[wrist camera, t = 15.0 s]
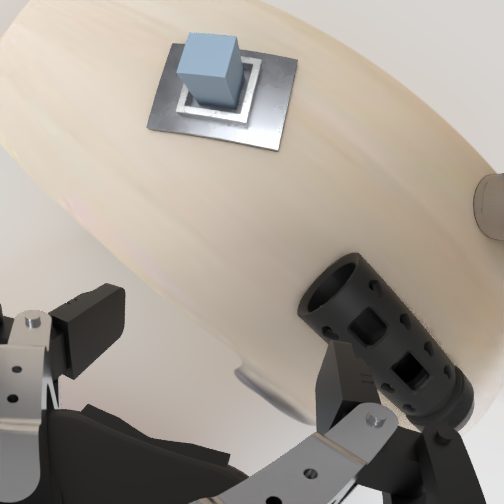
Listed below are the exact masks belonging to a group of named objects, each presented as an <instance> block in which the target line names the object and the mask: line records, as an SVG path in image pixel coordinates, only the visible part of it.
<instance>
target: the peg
mask: <svg viewBox="0 0 504 504" xmlns="http://www.w3.org/2000/svg"><path fill="white" fill-rule="evenodd" d="M176 73H177V74H178V76H179V77H180V79H181V80H182V81H183V83H184V84H185V86H186V87H187V88H188V90H189V91H190V93H191V94H192V95H193V97H194V98H195V100H196V101H197V103H198V104H199V105H204V106H211V107H218V108H225V109H232V110H237V106H238V101H239V97H240V93H241V89H242V85H243V81H244V77H245V76H244V71H243V66H242V61H241V56H240V51H239V46H238V41H237V37H236V36H227V35H217V34H204V33H189V35H188V38H187V41H186V44H185V47H184V50H183V53H182V56H181V59H180V62H179V66H178V69H177V72H176Z"/></svg>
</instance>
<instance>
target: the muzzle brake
mask: <svg viewBox="0 0 504 504" xmlns="http://www.w3.org/2000/svg"><path fill="white" fill-rule="evenodd" d="M320 306H321V307H320ZM298 316H299V317H300V318H301V319H302V320H303V321H304V322H305V323H307V324H308V325H309V326H310V327H311V328H312V329H313V330H314V331H315V332H316V333H317V334H318V335H319V336H320V337H322V338H323V339H324V340H325V341H326V342H327V343H328V344H329V343H330V341H331V340H336V341H341V342H347V343H351V344H352V347H353V351H354V355H355V357H357V358H362V359H363V360H364V361H365V362H366V363H367V364H368V366H369V367H370V370H371V373H372V377H373V379H374V382H375V383H374V384H375V385H376V388H377V389H378V390H379V391H380V392H381V393H382V394H383V395H384V396H385V397H387V398H388V399H389V400H390V401H391V402H392V403H393V404H394V405H395V406H396V407H398V408H399V409H400V410H401V411H402V412H403V413H405V414H406V417H407V419H408V420H409V421H410V422H411V423H412V424H413V425H414V426H415V427H416V428H417V429H419V430H420V431H421V432H422V430H423V429H424V427H425V426H426V425H427V424H429V423H432V422H440V423H444V424H447V425H449V426H451V427H453V428H454V429H455V430H456V431H457V432H458V431H459V430H460V429H462V428H463V427H464V426H465V425H466V423H467V422H468V421H469V419H470V417H471V415H472V413H473V409H474V391H473V387H472V384H471V383H470V382H469V380H468V379H467V378H466V376H465V375H464V374H463V372H462V371H461V370H460V369H459V368H458V367H456V366H454V365H453V363H452V362H451V360H450V359H449V358H448V356H447V355H446V354H445V353H444V351H443V350H442V349H441V348H440V346H439V345H438V344H437V343H436V341H435V340H434V339H433V338H432V336H431V335H430V334H429V333H428V332H427V330H426V329H425V328H424V327H423V326H422V324H421V323H420V322H419V321H418V320H417V318H416V317H415V316H414V315H413V314H412V312H411V311H410V310H409V309H408V308H407V307H406V305H405V304H404V303H403V302H402V301H401V300H400V298H399V297H398V296H397V295H396V294H395V293H394V292H393V290H392V289H391V288H390V287H389V286H388V285H387V284H386V283H385V281H384V280H383V279H382V278H381V277H380V276H379V275H378V274H377V272H376V271H375V270H374V269H373V268H372V267H371V266H370V265H369V264H368V263H367V262H366V260H365V259H364V258H363V257H362V256H361V255H360V254H359V253H351V254H348V255H346V256H344V257H342V258H341V259H339V260H338V261H336V262H335V263H334V264H332V265H331V266H330V267H329V268H328V269H326V270H325V271H324V272H323V273H322V274H321V275H320V276H319V277H318V278H317V279H316V281H315V282H314V283H313V284H312V285H311V286H310V288H309V289H308V290H307V292H306V293H305V295H304V296H303V298H302V299H301V301H300V304H299V306H298Z"/></svg>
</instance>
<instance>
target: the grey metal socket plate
mask: <svg viewBox="0 0 504 504" xmlns="http://www.w3.org/2000/svg"><path fill="white" fill-rule="evenodd" d="M184 47H185V44H175V43H173V44H172V46H171V49H170V52H169V55H168V58H167V61H166V64H165V67H164V70H163V73H162V76H161V79H160V82H159V86H158V89H157V92H156V95H155V99H154V102H153V106H152V109H151V113H150V116H149V120H148V124H147V128H148V129H149V130H156V131H163V132H171V133H178V134H184V135H191V136H197V137H203V138H209V139H215V140H221V141H226V142H232V143H237V144H242V145H247V146H252V147H257V148H262V149H267V150H271V151H276V152H278V147H279V143H280V138H281V134H282V129H283V125H284V120H285V116H286V111H287V107H288V102H289V98H290V93H291V89H292V84H293V80H294V75H295V71H296V66H297V61H298V60H296V59H291V58H287V57H282V56H276V55H271V54H265V53H260V52H253V51H247V50H240V49H239V51H240V56H241V61H242V66H243V71H244V76H245V77H244V81H243V85H242V89H241V93H240V97H239V101H238V106H237V110H232V109H225V108H218V107H211V106H204V105H199V104H198V103H197V101H196V100H195V98H194V97H193V95H192V94H191V93H190V91H189V90H188V88H187V87H186V86H185V84H184V83H183V81H182V80H181V79H180V77H179V76H178V74H177V73H176V72H177V69H178V66H179V62H180V59H181V56H182V53H183V50H184Z"/></svg>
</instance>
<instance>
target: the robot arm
mask: <svg viewBox="0 0 504 504" xmlns="http://www.w3.org/2000/svg"><path fill="white" fill-rule="evenodd" d="M474 212H475V217H476V220H477V223H478V225H479V227H480V229H481V230H482V232H483V233H484V234H485V235H486V236H488V237H490V238H493V239H497V240H503V241H504V173H502V174H493V175H488V176H486V177H485V178H483V179H482V180H481V182H480V183H479V185H478V187H477V189H476V193H475V197H474ZM124 321H125V290H124V289H123V288H121V287H118V286H115V285H111V284H108V283H105V284H104V285H102V286H100V287H98V288H97V289H95V290H93V291H90V292H86V293H82V294H80V295H78V296H77V297H75V298H74V299H71V300H70V301H68V302H67V303H65V304H63V305H61V306H59V307H58V308H56V309H55V310H53V311H51V312H49V313H48V314H47V313H45V312H43V311H39V310H29V311H24V312H22V313H20V314H18V315H17V316H16V317H15V319H14V318H10V317H6V316H3V314H2V307H1V304H0V504H341V503H342V502H343V501H344V500H345V499H346V498H347V497H348V496H349V495H350V494H351V493H352V492H353V491H354V489H355V488H356V487H357V486H358V485H362V486H365V487H369V488H372V489H376V490H379V491H382V495H383V504H486V501H485V498H484V495H483V492H482V490H481V487H480V484H479V481H478V478H477V476H476V473H475V470H474V468H473V465H472V463H471V460H470V458H469V455H468V453H467V450H466V448H465V446H464V443H463V440H462V438H461V436H460V434H459V433H458V432H457V431H456V430H455V429H454V428H453V427H451V426H449V425H447V424H444V423H440V422H432V423H429V424H427V425H426V426H425V427H424V429H423V430H422V432H421V433H420V432H416V431H413V430H409V429H406V428H403V427H400V426H398V418H397V416H396V415H395V414H394V413H393V412H392V411H391V410H390V409H389V408H387V407H385V406H383V405H381V402H380V398H379V395H378V392H377V388H376V385H375V384H374V383H375V382H374V379H373V377H372V373H371V370H370V367H369V366H368V364H367V363H366V362H365V361H364V360H363V359H362V358H357V357H355V355H354V351H353V347H352V344H351V343H347V342H341V341H336V340H331V341H330V343H329V346H328V348H327V351H326V354H325V357H324V360H323V363H322V366H321V369H320V372H319V374H318V378H317V382H316V389H315V392H316V423H317V432H315V433H313V434H312V435H310V436H309V437H308V438H306V439H305V440H303V441H302V442H301V443H299V444H298V445H297V446H296V447H294V448H293V449H291V450H290V451H288V452H287V453H285V454H284V455H283V456H281V457H280V458H278V459H277V460H275V461H274V462H272V463H271V464H269V465H268V466H266V467H265V468H263V469H262V470H260V471H258V472H257V473H255V474H254V475H252V476H250V477H249V476H247V475H246V474H244V473H243V472H242V471H240V470H238V469H236V468H235V467H232V466H230V465H228V462H229V458H230V454H228V453H224V452H220V451H216V450H213V449H209V448H205V447H202V446H198V445H195V444H190V443H181V442H174V441H167V440H160V439H154V438H150V437H148V436H146V435H144V434H143V433H141V432H140V431H138V430H137V429H135V428H133V427H132V426H131V425H129V424H128V423H126V422H125V421H123V420H121V419H120V418H119V417H116V416H114V415H112V414H109V413H107V412H105V411H103V410H100V409H98V408H96V407H94V406H92V405H90V404H87V405H86V406H85V408H84V409H83V410H82V411H81V412H80V411H74V410H67V409H61V396H60V380H59V376H60V375H62V374H63V375H65V376H67V377H69V378H71V379H73V380H74V379H76V378H77V377H78V376H79V375H80V374H81V373H82V372H83V371H84V370H85V369H86V368H87V367H88V366H89V365H90V364H92V363H93V362H94V361H95V360H96V359H97V358H98V357H99V356H100V355H101V354H102V353H103V352H105V350H107V349H108V348H109V347H110V346H111V345H112V344H113V343H114V342H115V341H116V340H118V339H119V338H120V336H121V335H122V332H123V329H124V323H125V322H124Z"/></svg>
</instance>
